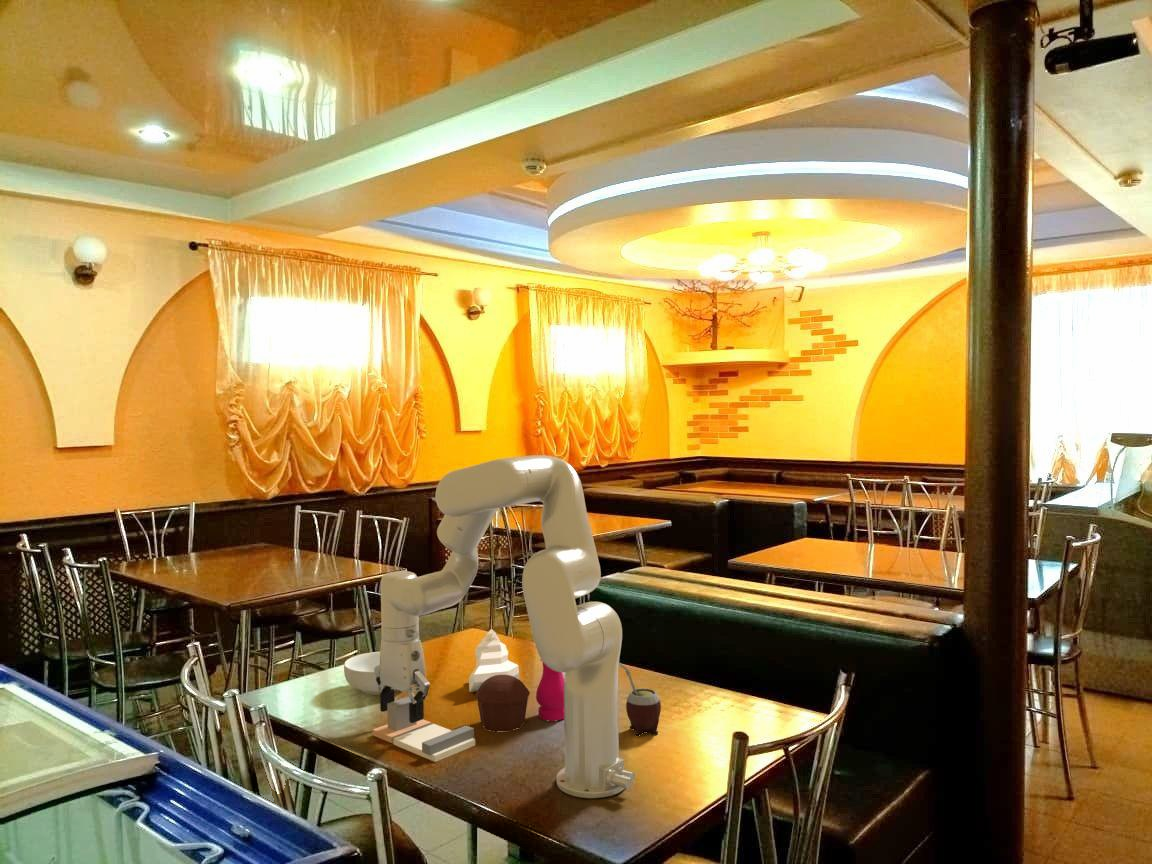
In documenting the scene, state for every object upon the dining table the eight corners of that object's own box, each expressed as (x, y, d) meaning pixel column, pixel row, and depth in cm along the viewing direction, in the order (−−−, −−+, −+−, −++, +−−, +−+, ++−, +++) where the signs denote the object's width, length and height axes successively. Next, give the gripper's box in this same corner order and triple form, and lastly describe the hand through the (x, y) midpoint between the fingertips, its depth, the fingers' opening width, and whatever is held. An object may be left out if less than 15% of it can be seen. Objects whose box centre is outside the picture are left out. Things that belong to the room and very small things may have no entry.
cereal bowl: (400, 703, 185) (400, 672, 185) (332, 700, 187) (331, 670, 187) (426, 679, 202) (425, 651, 201) (362, 677, 204) (362, 649, 204)
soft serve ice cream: (451, 693, 195) (448, 632, 199) (506, 686, 204) (502, 628, 207) (474, 693, 185) (471, 630, 189) (531, 686, 194) (527, 625, 197)
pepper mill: (565, 723, 171) (564, 628, 171) (532, 721, 172) (531, 627, 172) (572, 711, 178) (571, 620, 178) (540, 709, 179) (539, 619, 179)
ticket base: (477, 744, 161) (477, 729, 161) (433, 762, 152) (432, 747, 152) (434, 728, 169) (434, 714, 169) (390, 745, 161) (390, 730, 161)
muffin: (465, 723, 172) (464, 676, 172) (508, 710, 179) (507, 665, 179) (497, 740, 163) (496, 690, 163) (541, 725, 170) (540, 678, 170)
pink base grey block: (431, 728, 169) (430, 698, 169) (391, 743, 162) (391, 712, 162) (412, 720, 174) (411, 692, 173) (372, 735, 166) (372, 705, 166)
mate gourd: (667, 729, 167) (666, 656, 167) (648, 742, 160) (647, 666, 160) (635, 722, 171) (634, 651, 171) (616, 734, 165) (615, 661, 164)
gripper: (441, 635, 164) (443, 720, 165) (390, 622, 176) (391, 701, 176) (411, 644, 159) (413, 731, 159) (360, 629, 170) (361, 710, 170)
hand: (401, 715), depth 168 cm, fingers open, 9 cm apart
